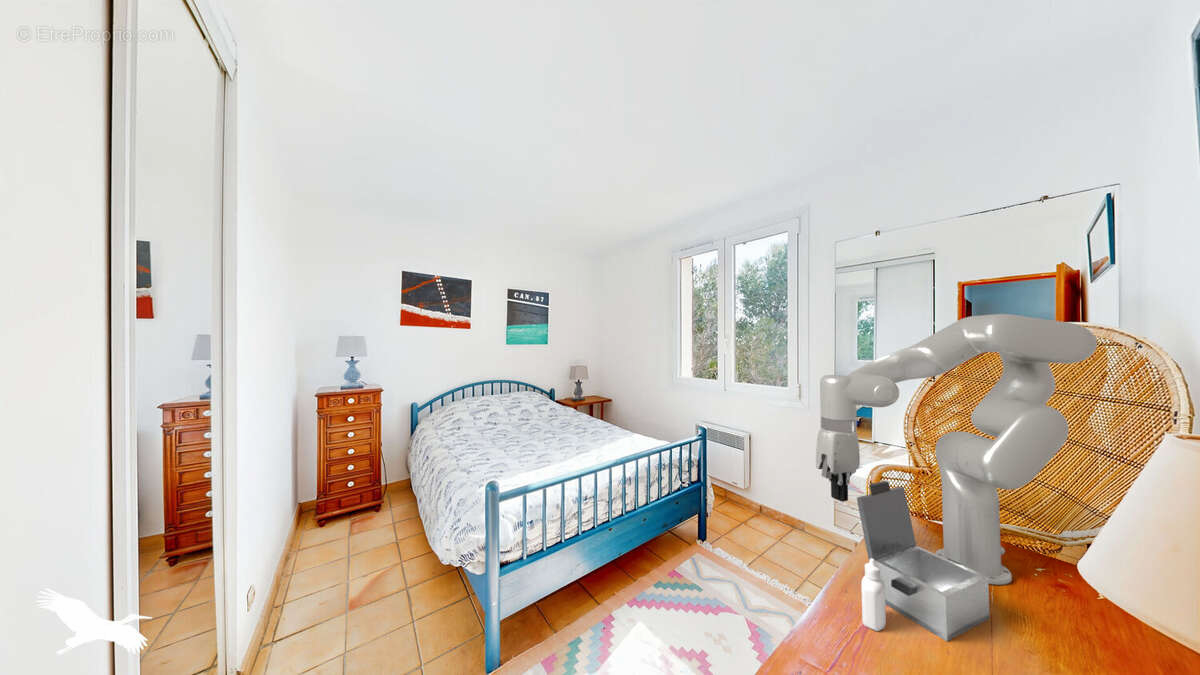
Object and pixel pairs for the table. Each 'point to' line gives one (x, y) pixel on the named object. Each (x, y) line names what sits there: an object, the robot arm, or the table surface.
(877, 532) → the lid
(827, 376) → the robot arm
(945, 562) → the grey rectangular box
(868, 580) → the eye dropper bottle
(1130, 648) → the table surface
